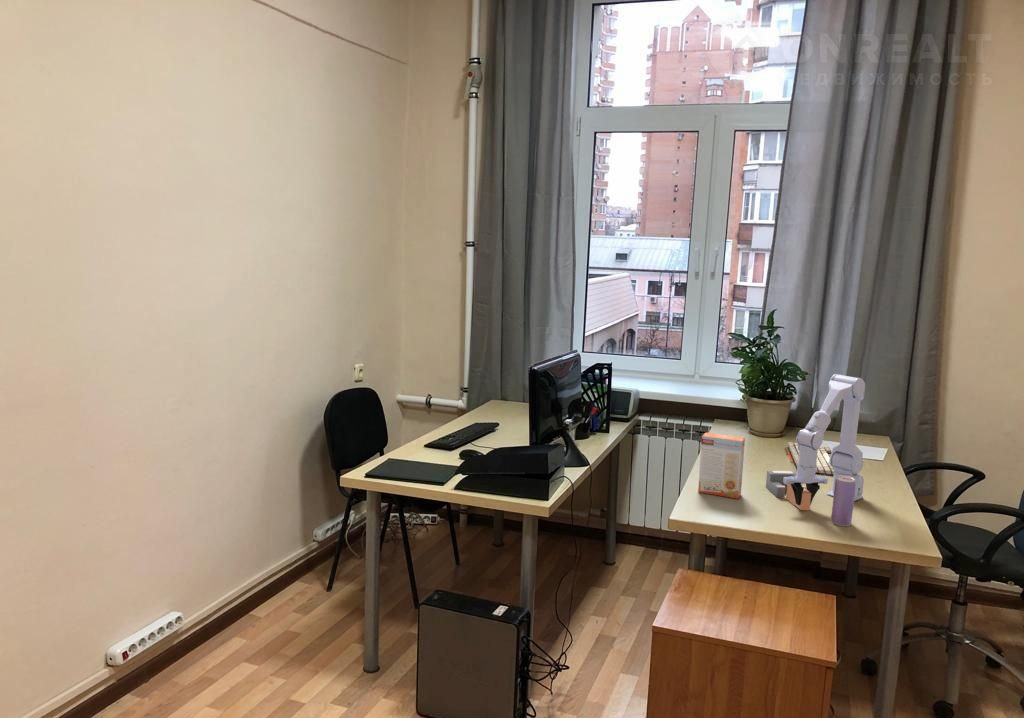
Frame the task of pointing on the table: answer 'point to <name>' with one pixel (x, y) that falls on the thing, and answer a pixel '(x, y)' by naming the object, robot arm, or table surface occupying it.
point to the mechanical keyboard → (822, 458)
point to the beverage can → (843, 500)
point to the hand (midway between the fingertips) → (803, 504)
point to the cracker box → (721, 465)
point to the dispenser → (778, 482)
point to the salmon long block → (804, 499)
